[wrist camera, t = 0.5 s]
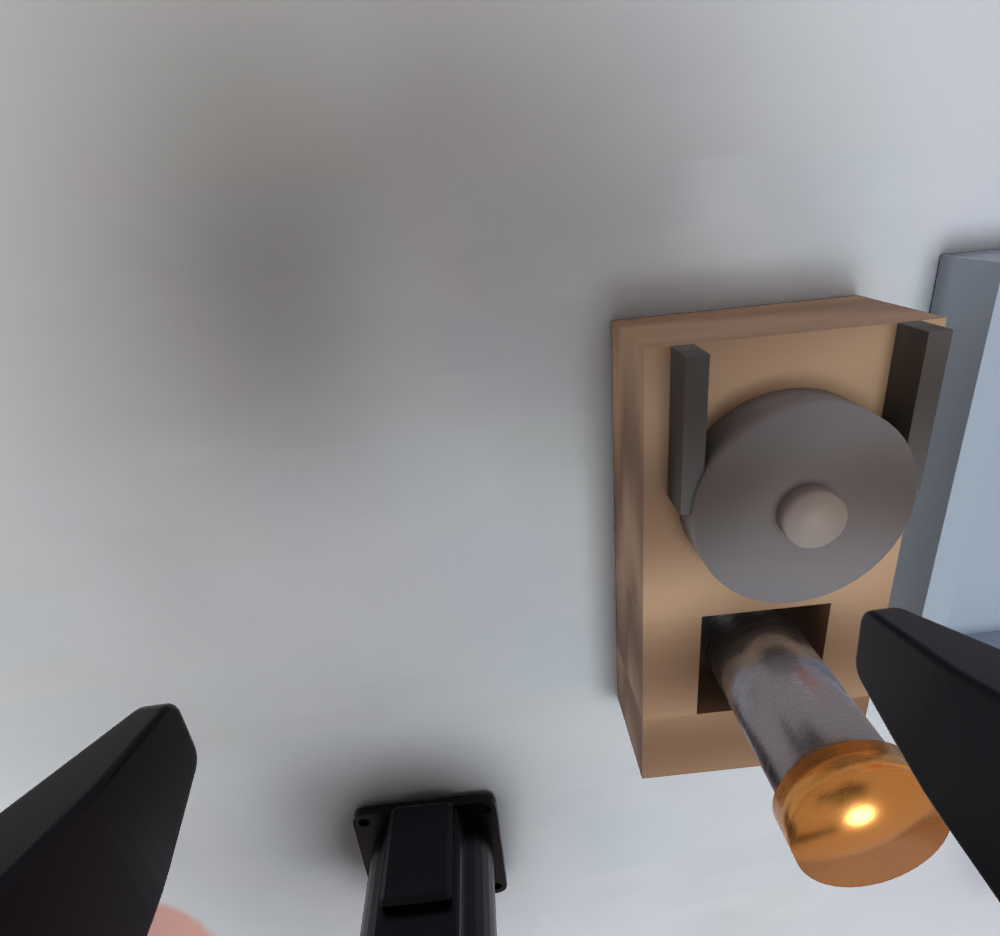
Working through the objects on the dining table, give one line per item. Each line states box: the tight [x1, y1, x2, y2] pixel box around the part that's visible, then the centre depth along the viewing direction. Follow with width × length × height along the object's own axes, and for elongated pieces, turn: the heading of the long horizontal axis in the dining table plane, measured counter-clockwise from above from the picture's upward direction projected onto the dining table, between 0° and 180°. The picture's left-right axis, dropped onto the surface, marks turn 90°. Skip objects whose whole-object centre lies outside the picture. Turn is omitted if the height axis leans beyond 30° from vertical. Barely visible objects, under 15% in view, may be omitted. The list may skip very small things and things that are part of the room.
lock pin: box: [700, 608, 950, 887], centre depth 20 cm, size 4×4×10 cm
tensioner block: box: [611, 295, 954, 779], centre depth 20 cm, size 16×8×6 cm, turn 5°
